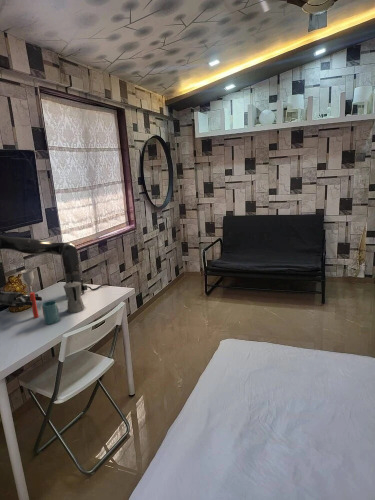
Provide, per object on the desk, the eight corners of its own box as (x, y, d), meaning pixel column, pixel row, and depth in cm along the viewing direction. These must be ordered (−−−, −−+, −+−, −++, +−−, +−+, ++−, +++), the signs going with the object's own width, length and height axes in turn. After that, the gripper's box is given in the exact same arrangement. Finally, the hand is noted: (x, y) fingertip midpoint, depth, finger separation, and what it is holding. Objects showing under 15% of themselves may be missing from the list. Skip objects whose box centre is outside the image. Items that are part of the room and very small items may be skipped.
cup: (54, 317, 178) (51, 299, 175) (62, 319, 174) (59, 302, 171) (42, 322, 172) (38, 304, 170) (50, 325, 168) (47, 307, 166)
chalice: (33, 300, 204) (28, 272, 200) (23, 299, 206) (18, 272, 202) (40, 295, 211) (35, 268, 207) (31, 295, 213) (26, 268, 208)
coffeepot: (66, 307, 190) (61, 277, 185) (83, 303, 193) (78, 274, 189) (69, 317, 176) (64, 285, 172) (87, 313, 180) (82, 282, 176)
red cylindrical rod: (37, 315, 181) (32, 291, 178) (39, 316, 180) (35, 292, 176) (33, 317, 179) (28, 293, 176) (35, 318, 178) (30, 294, 174)
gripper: (0, 297, 174) (25, 299, 169) (22, 287, 188) (45, 289, 182) (3, 310, 176) (27, 313, 171) (24, 300, 189) (47, 302, 184)
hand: (36, 301), depth 176 cm, fingers open, 6 cm apart
